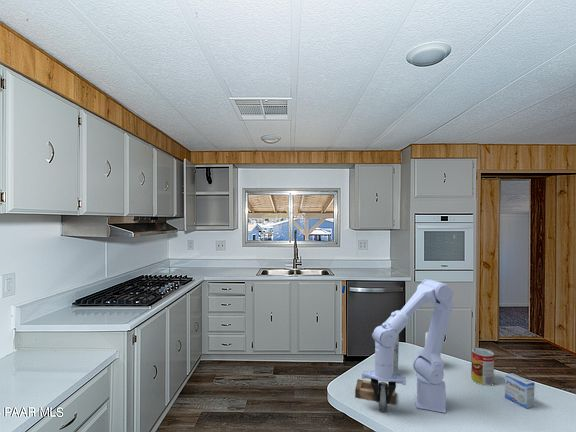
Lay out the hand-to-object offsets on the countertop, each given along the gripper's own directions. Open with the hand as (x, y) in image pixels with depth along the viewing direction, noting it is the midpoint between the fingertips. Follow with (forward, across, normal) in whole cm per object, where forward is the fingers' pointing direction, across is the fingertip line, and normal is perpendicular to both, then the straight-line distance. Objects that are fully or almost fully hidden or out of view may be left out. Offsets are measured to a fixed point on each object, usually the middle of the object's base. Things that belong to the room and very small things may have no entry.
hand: (383, 401), depth 114 cm
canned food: (+3, -39, -34) cm, 52 cm away
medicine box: (+3, -47, -21) cm, 52 cm away
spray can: (+3, -2, -28) cm, 28 cm away
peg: (+3, 0, 0) cm, 3 cm away
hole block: (+3, +3, -9) cm, 10 cm away
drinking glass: (+3, -21, -41) cm, 46 cm away
